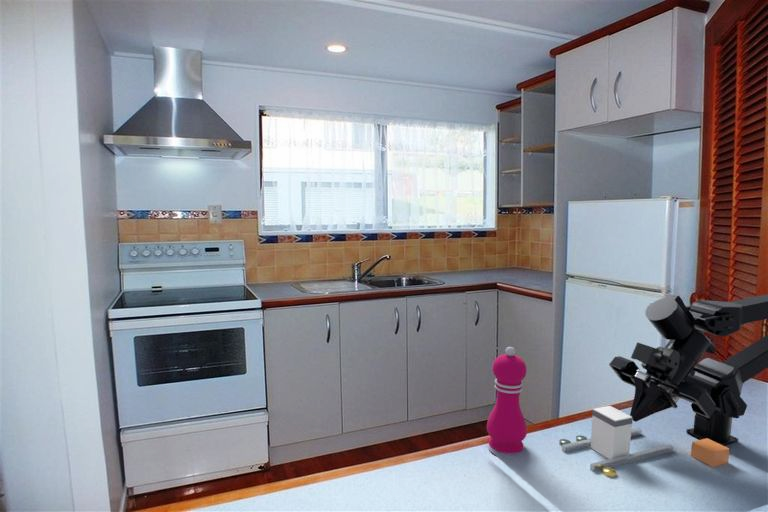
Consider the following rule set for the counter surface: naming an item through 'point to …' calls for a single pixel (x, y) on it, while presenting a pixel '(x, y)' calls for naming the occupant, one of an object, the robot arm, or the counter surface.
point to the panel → (606, 464)
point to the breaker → (611, 432)
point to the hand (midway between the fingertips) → (632, 419)
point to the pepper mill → (507, 404)
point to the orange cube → (710, 452)
